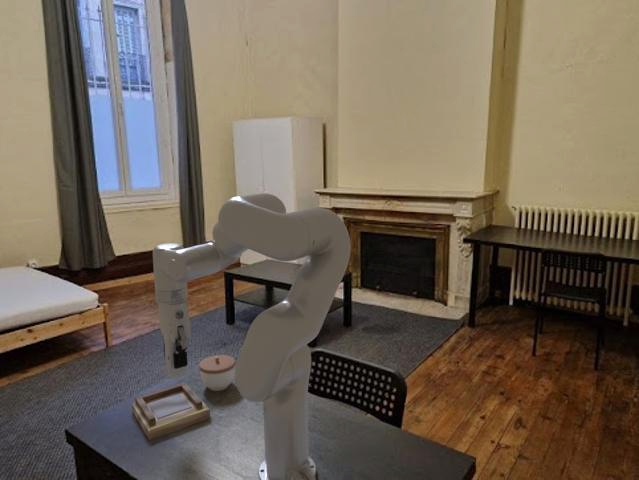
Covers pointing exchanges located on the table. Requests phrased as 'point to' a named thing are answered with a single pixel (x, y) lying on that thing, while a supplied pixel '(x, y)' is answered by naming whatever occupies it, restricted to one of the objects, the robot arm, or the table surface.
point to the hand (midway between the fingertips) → (175, 361)
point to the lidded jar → (217, 371)
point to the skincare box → (172, 360)
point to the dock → (169, 410)
